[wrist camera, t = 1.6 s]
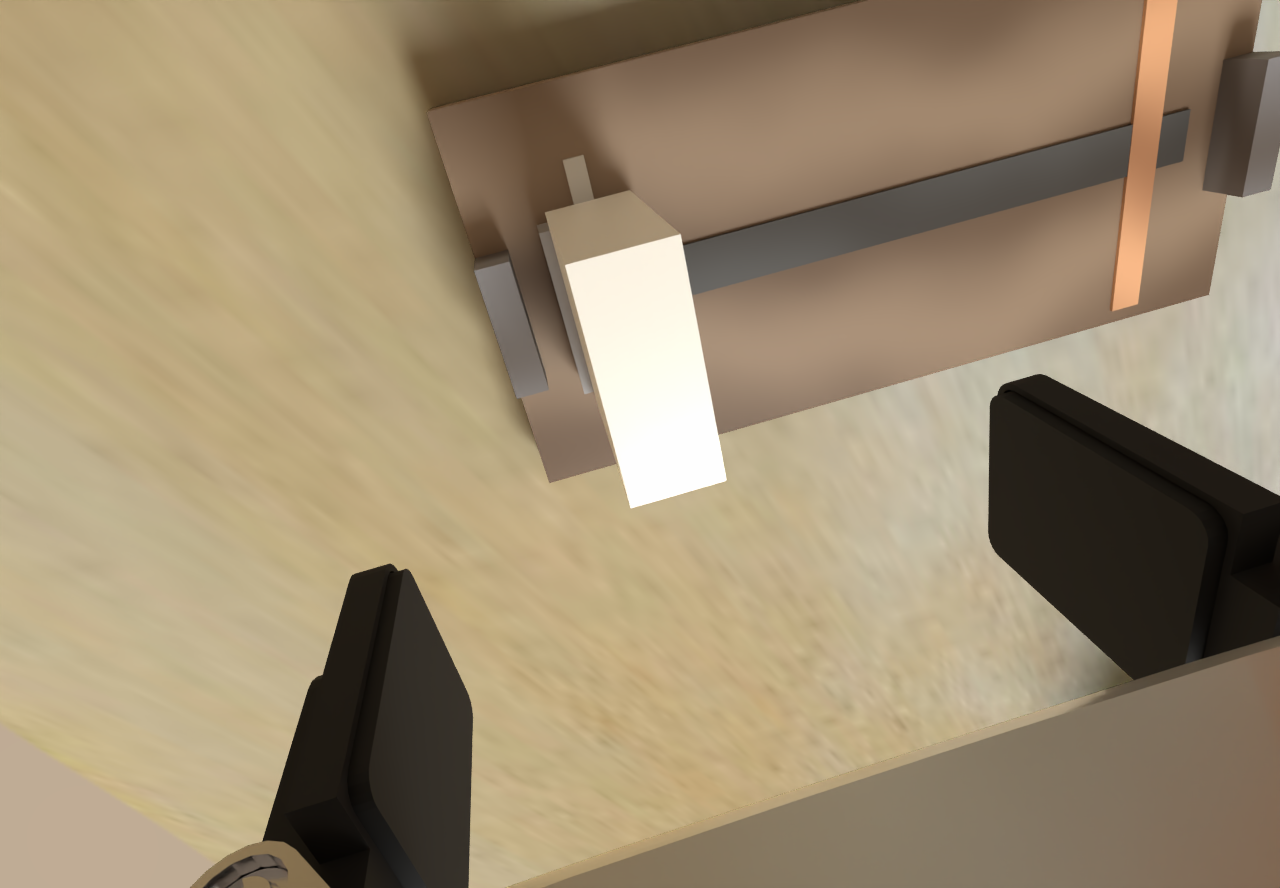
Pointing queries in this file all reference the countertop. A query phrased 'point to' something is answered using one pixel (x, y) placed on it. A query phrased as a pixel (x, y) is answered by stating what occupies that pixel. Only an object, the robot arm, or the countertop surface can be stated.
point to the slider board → (875, 189)
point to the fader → (636, 341)
